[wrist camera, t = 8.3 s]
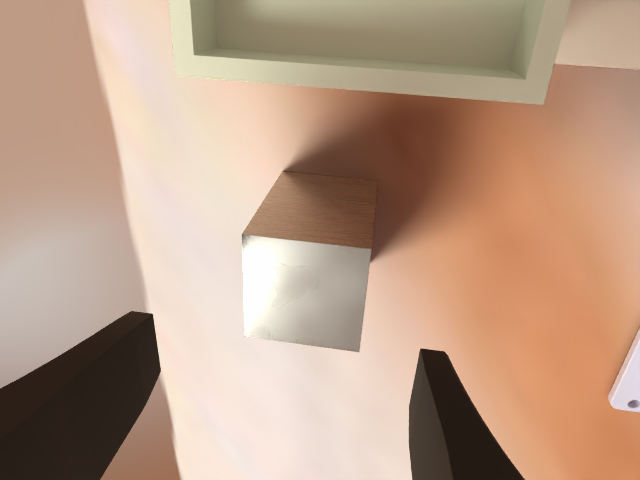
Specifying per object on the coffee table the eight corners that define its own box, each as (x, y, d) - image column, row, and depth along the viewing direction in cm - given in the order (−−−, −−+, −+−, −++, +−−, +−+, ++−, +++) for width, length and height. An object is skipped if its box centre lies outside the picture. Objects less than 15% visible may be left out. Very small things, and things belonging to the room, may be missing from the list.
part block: (377, 180, 19) (371, 248, 14) (367, 263, 21) (359, 352, 16) (282, 171, 20) (241, 234, 14) (281, 253, 22) (244, 336, 16)
